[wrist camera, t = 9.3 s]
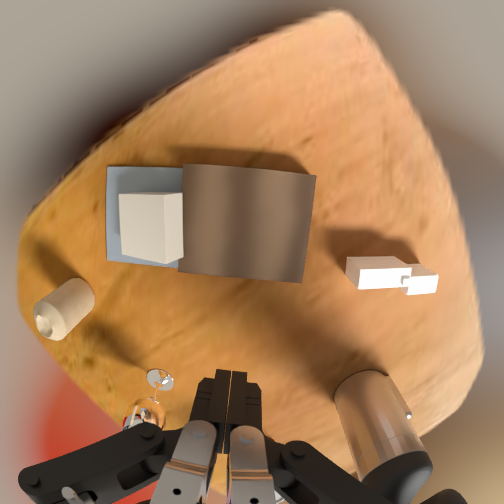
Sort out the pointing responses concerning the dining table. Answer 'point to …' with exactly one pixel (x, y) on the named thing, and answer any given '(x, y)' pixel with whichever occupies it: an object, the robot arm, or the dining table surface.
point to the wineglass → (149, 403)
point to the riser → (245, 222)
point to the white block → (152, 225)
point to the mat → (129, 182)
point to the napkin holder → (390, 274)
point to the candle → (63, 308)
